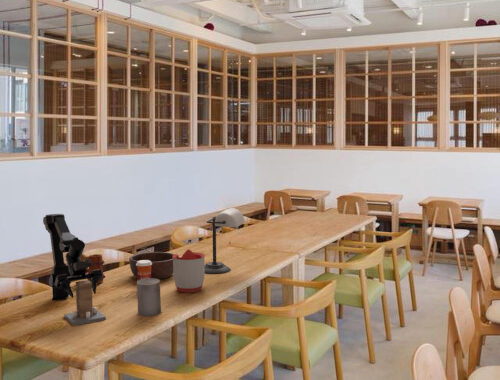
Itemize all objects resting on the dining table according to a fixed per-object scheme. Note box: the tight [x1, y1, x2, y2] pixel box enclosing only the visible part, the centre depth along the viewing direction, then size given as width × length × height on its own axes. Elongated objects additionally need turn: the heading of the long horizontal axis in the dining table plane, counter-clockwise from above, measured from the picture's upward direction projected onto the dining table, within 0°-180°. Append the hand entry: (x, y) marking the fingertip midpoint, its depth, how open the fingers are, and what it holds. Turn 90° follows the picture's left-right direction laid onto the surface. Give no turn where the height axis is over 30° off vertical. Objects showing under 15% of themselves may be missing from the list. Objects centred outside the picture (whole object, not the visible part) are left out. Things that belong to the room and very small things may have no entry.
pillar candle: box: [136, 278, 162, 317], centre depth 240 cm, size 10×10×15 cm
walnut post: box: [75, 279, 94, 318], centre depth 233 cm, size 5×5×14 cm
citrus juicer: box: [172, 248, 206, 294], centre depth 275 cm, size 16×17×20 cm
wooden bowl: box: [128, 251, 175, 280], centre depth 302 cm, size 25×25×10 cm
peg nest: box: [64, 306, 107, 326], centre depth 234 cm, size 13×13×4 cm
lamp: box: [204, 207, 246, 275], centre depth 311 cm, size 26×24×34 cm
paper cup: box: [136, 260, 152, 281], centre depth 274 cm, size 8×8×14 cm
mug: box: [80, 253, 106, 285], centre depth 288 cm, size 15×8×15 cm, turn 92°
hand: (84, 295), depth 233 cm, fingers open, 9 cm apart
